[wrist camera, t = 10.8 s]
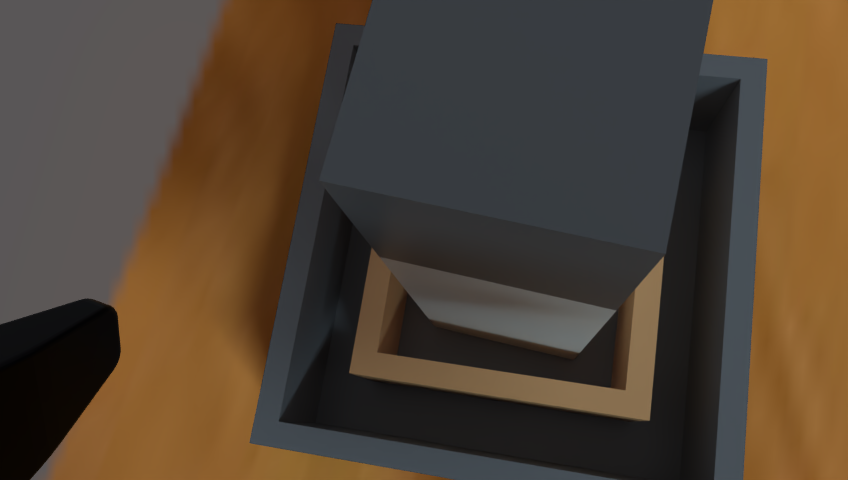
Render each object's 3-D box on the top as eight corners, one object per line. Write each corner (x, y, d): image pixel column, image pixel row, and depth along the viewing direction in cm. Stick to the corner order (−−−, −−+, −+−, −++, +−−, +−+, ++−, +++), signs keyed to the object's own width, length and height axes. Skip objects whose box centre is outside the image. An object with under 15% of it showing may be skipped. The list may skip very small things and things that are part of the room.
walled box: (696, 509, 20) (739, 529, 16) (297, 439, 21) (249, 443, 18) (723, 122, 22) (767, 59, 18) (365, 88, 24) (336, 23, 20)
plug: (573, 360, 20) (665, 253, 8) (434, 326, 21) (318, 180, 9) (601, 224, 21) (725, -64, 9) (467, 196, 22) (404, -108, 9)
